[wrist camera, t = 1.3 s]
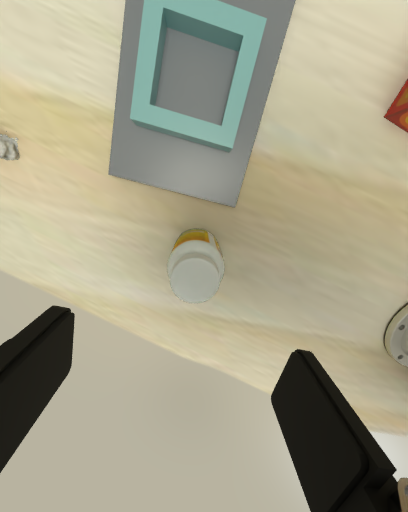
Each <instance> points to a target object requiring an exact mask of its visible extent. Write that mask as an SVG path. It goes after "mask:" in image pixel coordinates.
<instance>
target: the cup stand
mask: <svg viewBox="0 0 408 512" xmlns="http://www.w3.org/2000/svg"><path fill="white" fill-rule="evenodd" d="M295 1H296V0H126V2H125V12H124V22H123V32H122V42H121V52H120V63H119V73H118V83H117V93H116V103H115V113H114V123H113V133H112V143H111V154H110V164H109V175H112V176H116V177H120V178H124V179H128V180H132V181H135V182H139V183H143V184H147V185H151V186H155V187H158V188H162V189H166V190H170V191H174V192H178V193H181V194H185V195H189V196H193V197H197V198H200V199H204V200H208V201H212V202H216V203H220V204H223V205H227V206H231V207H235V206H236V203H237V199H238V196H239V192H240V189H241V186H242V182H243V179H244V175H245V172H246V168H247V165H248V162H249V158H250V155H251V151H252V148H253V144H254V141H255V138H256V134H257V131H258V127H259V124H260V120H261V117H262V114H263V110H264V107H265V103H266V100H267V96H268V93H269V90H270V86H271V83H272V79H273V76H274V72H275V69H276V66H277V62H278V59H279V55H280V52H281V49H282V45H283V42H284V38H285V35H286V31H287V28H288V25H289V21H290V18H291V14H292V11H293V7H294V4H295Z"/></svg>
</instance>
